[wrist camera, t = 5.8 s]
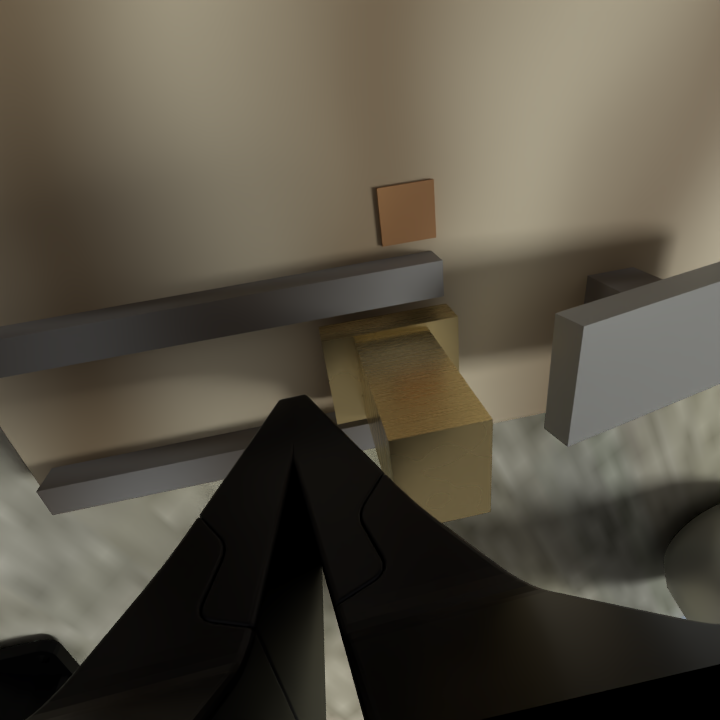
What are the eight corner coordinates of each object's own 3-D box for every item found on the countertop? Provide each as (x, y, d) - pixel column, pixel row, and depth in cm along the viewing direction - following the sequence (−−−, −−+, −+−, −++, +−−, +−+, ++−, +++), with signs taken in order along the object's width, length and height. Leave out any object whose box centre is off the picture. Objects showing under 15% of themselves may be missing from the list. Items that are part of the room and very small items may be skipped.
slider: (333, 405, 11) (360, 545, 7) (318, 326, 10) (340, 445, 6) (448, 382, 11) (529, 507, 8) (445, 303, 10) (538, 404, 7)
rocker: (543, 427, 10) (567, 447, 9) (555, 313, 8) (583, 326, 8) (724, 357, 11) (754, 369, 11) (759, 248, 10) (796, 256, 9)
